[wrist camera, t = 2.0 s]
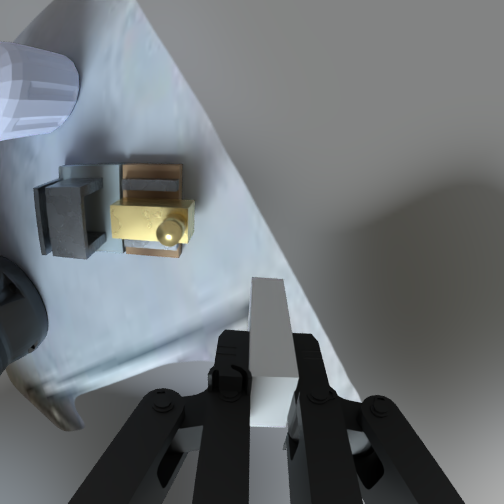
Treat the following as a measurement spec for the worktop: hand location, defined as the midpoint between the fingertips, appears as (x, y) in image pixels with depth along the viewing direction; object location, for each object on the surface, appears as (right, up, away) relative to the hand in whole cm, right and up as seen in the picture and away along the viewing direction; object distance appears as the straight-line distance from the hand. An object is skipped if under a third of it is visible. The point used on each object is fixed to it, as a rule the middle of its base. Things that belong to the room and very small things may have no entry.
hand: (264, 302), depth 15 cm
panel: (-14, +7, +14) cm, 21 cm away
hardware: (-14, +6, +13) cm, 20 cm away
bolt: (-9, +6, +13) cm, 17 cm away
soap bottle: (-22, +19, +9) cm, 31 cm away
